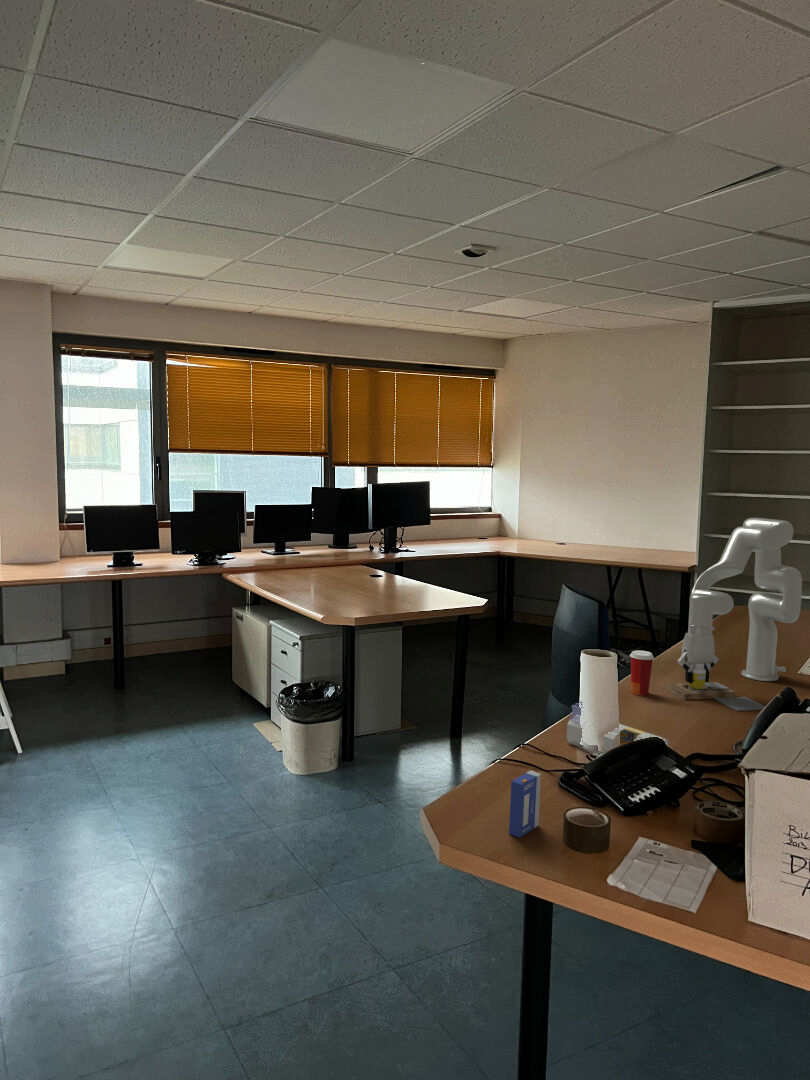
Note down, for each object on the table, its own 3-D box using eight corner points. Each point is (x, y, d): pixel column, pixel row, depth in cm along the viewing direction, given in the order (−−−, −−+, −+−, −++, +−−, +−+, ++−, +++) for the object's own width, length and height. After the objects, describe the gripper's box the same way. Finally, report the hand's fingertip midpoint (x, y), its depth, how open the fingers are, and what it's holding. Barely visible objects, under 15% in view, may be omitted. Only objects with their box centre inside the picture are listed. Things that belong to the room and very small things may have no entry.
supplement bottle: (685, 687, 269) (686, 660, 268) (700, 687, 270) (702, 659, 268) (692, 692, 264) (693, 664, 263) (707, 692, 264) (709, 664, 263)
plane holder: (715, 687, 274) (715, 680, 274) (734, 697, 264) (735, 689, 264) (666, 689, 270) (667, 682, 270) (684, 699, 260) (685, 692, 259)
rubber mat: (745, 697, 264) (745, 696, 264) (769, 709, 252) (769, 708, 252) (714, 699, 261) (714, 698, 261) (736, 711, 249) (737, 709, 249)
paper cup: (651, 691, 268) (654, 651, 267) (650, 697, 261) (653, 656, 259) (628, 688, 271) (630, 649, 269) (626, 694, 263) (629, 654, 262)
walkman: (520, 838, 163) (522, 783, 162) (508, 833, 165) (511, 779, 163) (539, 825, 169) (542, 772, 168) (528, 821, 171) (531, 768, 169)
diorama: (565, 744, 217) (568, 699, 216) (587, 736, 224) (590, 692, 223) (646, 773, 199) (649, 724, 198) (667, 763, 206) (670, 715, 204)
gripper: (715, 626, 270) (712, 677, 272) (671, 628, 266) (668, 680, 268) (729, 631, 262) (725, 683, 265) (683, 633, 259) (680, 686, 261)
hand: (696, 681), depth 266 cm, fingers closed on supplement bottle, 5 cm apart
